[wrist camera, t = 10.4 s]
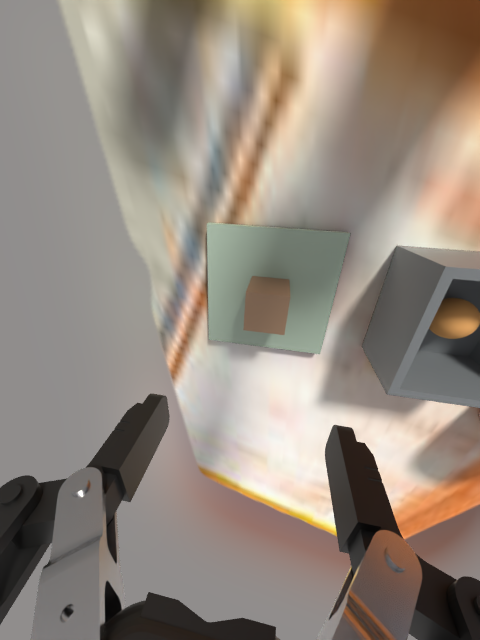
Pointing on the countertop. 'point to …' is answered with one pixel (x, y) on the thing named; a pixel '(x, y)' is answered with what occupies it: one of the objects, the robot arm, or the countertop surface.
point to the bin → (425, 327)
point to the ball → (455, 319)
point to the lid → (272, 284)
